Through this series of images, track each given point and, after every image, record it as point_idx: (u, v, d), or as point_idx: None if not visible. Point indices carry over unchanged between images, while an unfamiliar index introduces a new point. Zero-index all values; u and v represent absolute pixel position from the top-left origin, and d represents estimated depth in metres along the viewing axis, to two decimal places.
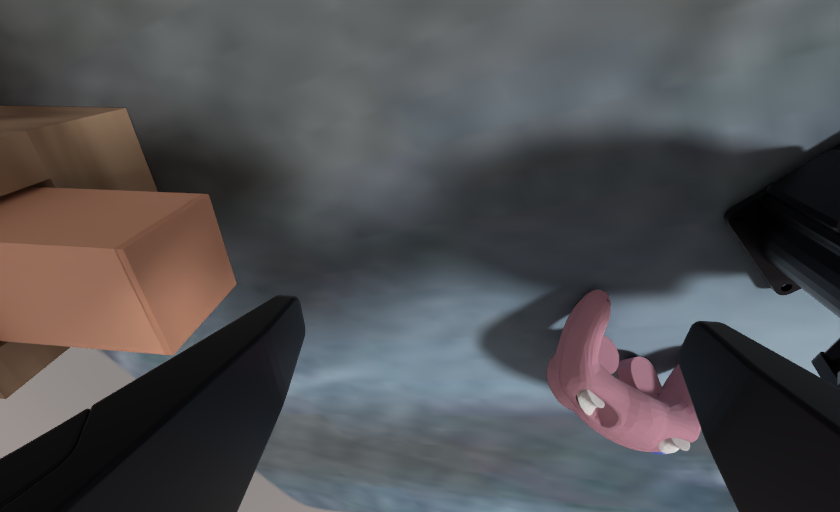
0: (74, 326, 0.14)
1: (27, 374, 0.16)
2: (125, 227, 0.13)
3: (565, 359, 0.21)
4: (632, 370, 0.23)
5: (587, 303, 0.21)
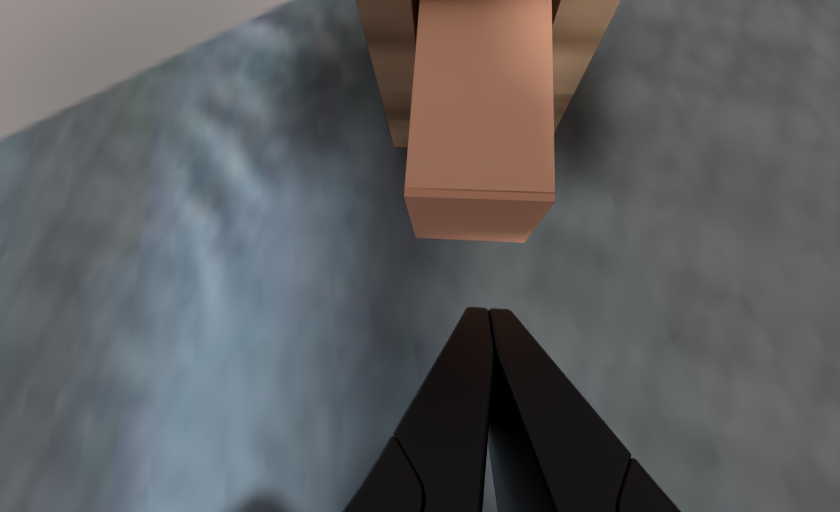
0: (445, 99, 0.12)
1: (363, 4, 0.13)
2: None
3: None
4: None
5: None
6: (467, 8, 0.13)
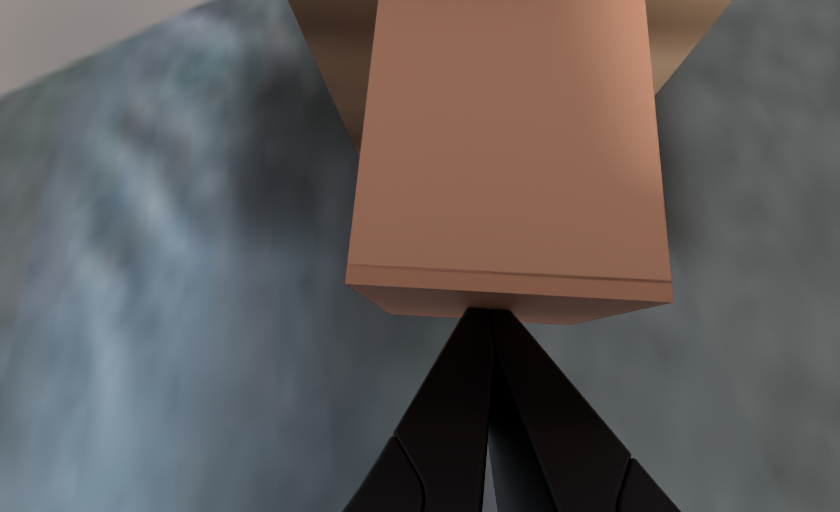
0: (434, 82, 0.06)
1: None
2: None
3: None
4: None
5: None
6: None
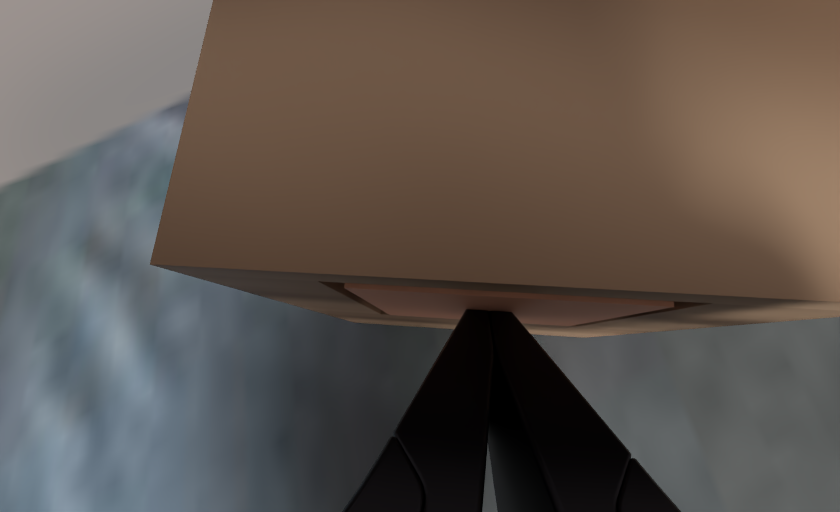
0: None
1: (215, 279, 0.06)
2: None
3: None
4: None
5: None
6: None
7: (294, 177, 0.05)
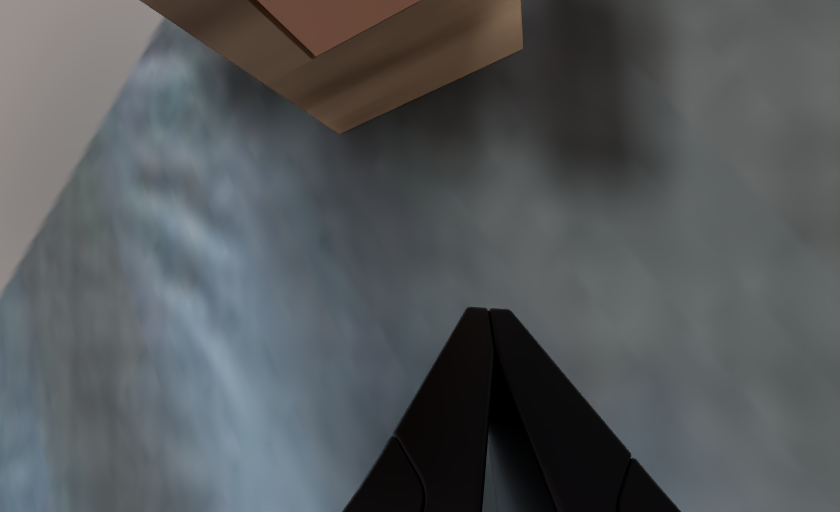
0: None
1: None
2: None
3: None
4: None
5: None
6: None
7: None
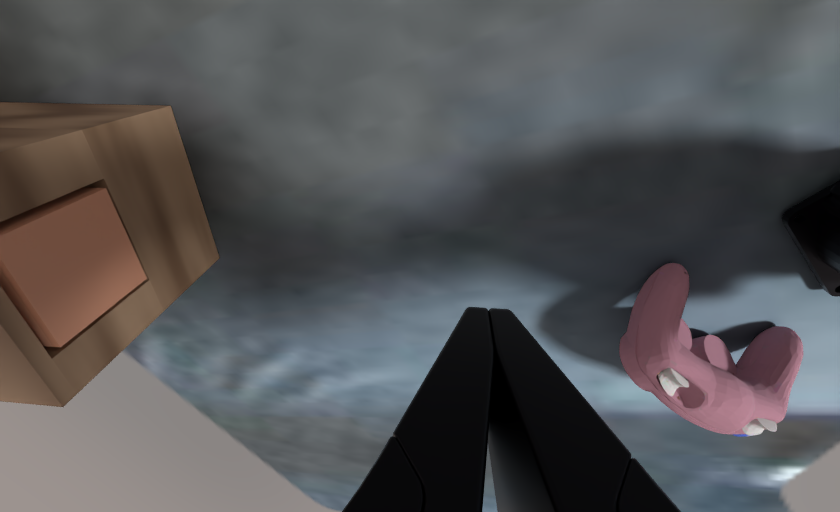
0: None
1: (82, 381, 0.15)
2: None
3: (642, 336, 0.20)
4: (705, 348, 0.22)
5: (663, 277, 0.20)
6: None
7: (8, 373, 0.14)
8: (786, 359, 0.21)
